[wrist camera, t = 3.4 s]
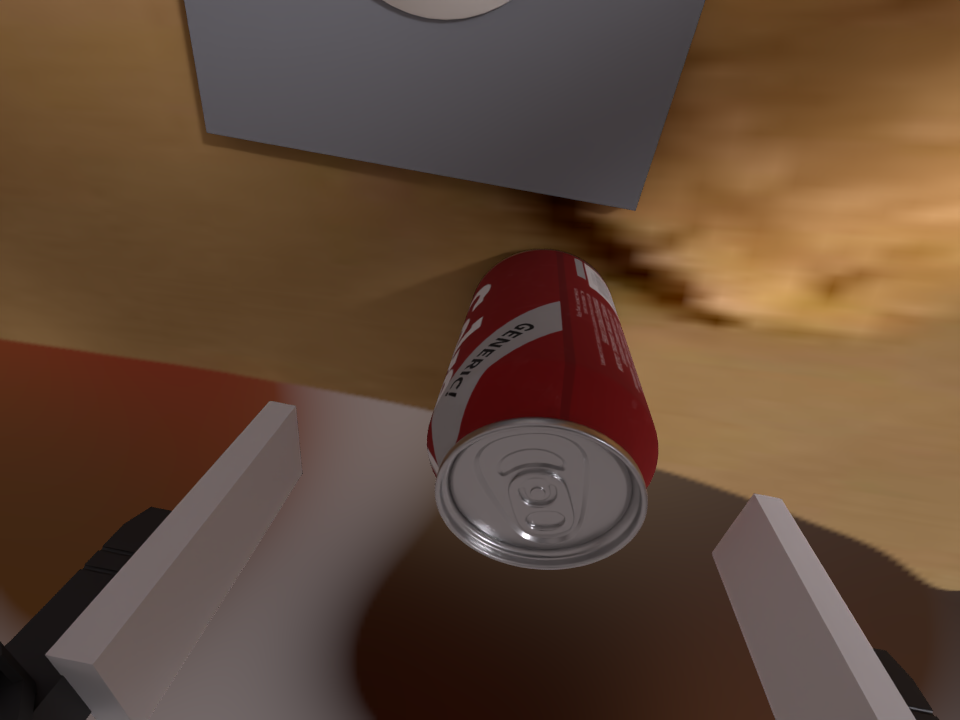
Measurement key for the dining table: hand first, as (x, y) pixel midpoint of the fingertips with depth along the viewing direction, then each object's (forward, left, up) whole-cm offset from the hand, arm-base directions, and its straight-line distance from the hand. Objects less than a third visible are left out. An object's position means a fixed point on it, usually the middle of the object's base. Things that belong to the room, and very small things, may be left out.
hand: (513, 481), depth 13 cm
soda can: (-1, +1, -11) cm, 11 cm away
